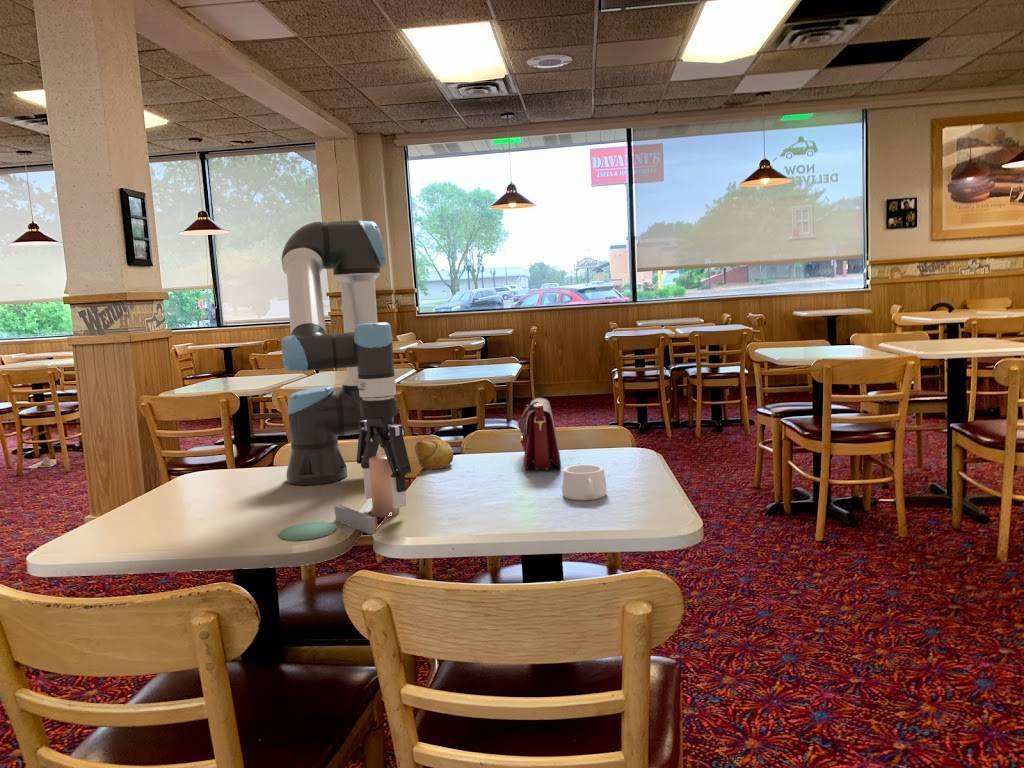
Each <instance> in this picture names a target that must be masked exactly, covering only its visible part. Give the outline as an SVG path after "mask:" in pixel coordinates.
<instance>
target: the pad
mask: <svg viewBox="0 0 1024 768" xmlns="http://www.w3.org/2000/svg"><path fill="white" fill-rule="evenodd" d="M336 529H338V526H337V524H336V523H334V522H330V521H322V520H317V521H307V522H301V523H295V524H293V525H292V524H291V525H289V526H286V527H283V528H282V529H280V531H279V532H278V537H279V539H282V540H285V541H291V540H292V541H293V540H301V541H307V540H306V539H311V540H314V539H313V538H316V539H318V538H317V537H321V538H323V537H322V536H324V537H326V536H325V535H327V534H330V533H332V532H333V533H335V532H336V531H337V530H336ZM335 530H336V531H335ZM334 531H335V532H334ZM333 533H332V534H333ZM330 535H331V534H330ZM327 536H328V535H327ZM293 542H294V541H293Z"/></svg>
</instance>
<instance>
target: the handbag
mask: <svg viewBox="0 0 1024 768" xmlns="http://www.w3.org/2000/svg"><path fill="white" fill-rule="evenodd" d="M525 416H526V421H525ZM525 422H526V423H525ZM519 429H520V438H519V440H520V446H521V447H522V449H523V452H524V456H523V457H524V458H523V469H524V471H526V470H527V469H528V468H529V467H530V466H531V464H532V463H533V467H534V468H535V470H537V471H538V470H539V471H542V470H543V471H544V470H549V469H550V468H551V464H552V462H553V464H555V466H556V467H557V468H558V469H559V470H560V469H561V464H562V463H561V462H562V461H561V455H560V446H559V441H558V437H557V430H556V425H555V420H554V415H553V410H552V406H551V403H550V401H549V400H548V399H547V398H546V397H545V398H544V397H536V398H533V399H532V400H530V402H529V404H528V406H527V407H525V409H524V411H523V413H522V415H521V417H520V420H519Z"/></svg>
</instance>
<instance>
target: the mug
mask: <svg viewBox="0 0 1024 768" xmlns="http://www.w3.org/2000/svg"><path fill="white" fill-rule="evenodd" d="M562 472H563V475H562V486H561V489H562V490H561V491H562V492H561V493H562V496H563V497H564V498H566V499H567V500H570V501H571V500H572V501H581V502H582V501H592V500H593V501H594V500H599V499H601V498H604V497H605V496H606V494H607V493H608V491H607V482H606V475H605V470H604V468H603V466H600V465H596V464H575V465H570V466H567V467H565V468H563V471H562Z"/></svg>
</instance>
